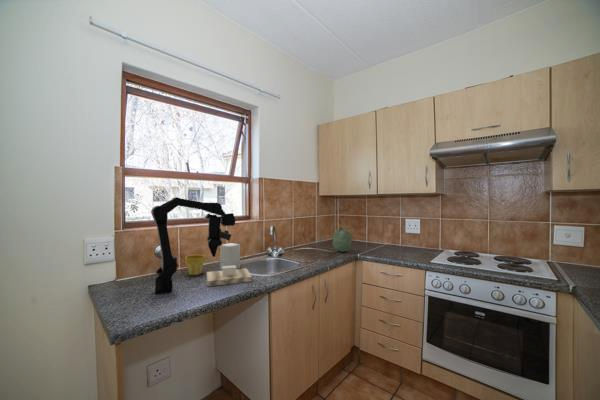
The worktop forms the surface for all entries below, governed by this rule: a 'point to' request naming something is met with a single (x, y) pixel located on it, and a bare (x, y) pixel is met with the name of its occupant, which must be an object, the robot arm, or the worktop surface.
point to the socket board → (228, 277)
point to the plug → (228, 270)
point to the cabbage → (342, 240)
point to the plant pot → (195, 264)
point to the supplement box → (230, 255)
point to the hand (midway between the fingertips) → (213, 256)
